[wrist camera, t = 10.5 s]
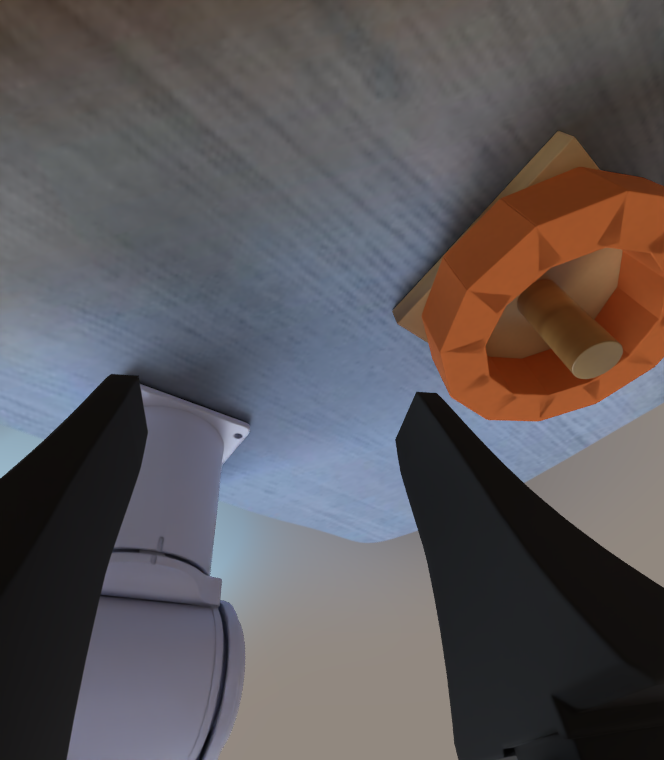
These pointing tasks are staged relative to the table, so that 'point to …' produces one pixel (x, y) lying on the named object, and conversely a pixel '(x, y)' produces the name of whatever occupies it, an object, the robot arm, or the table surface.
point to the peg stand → (546, 289)
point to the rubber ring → (528, 263)
